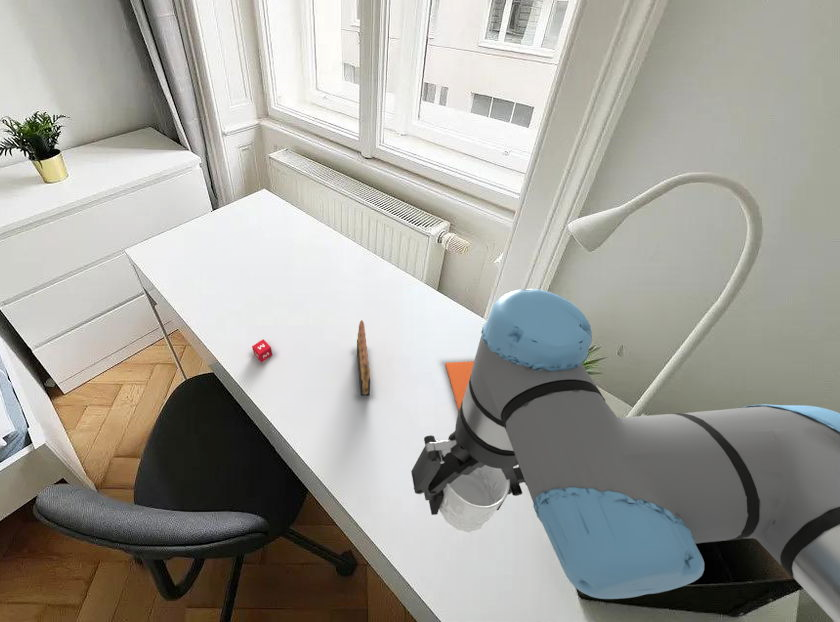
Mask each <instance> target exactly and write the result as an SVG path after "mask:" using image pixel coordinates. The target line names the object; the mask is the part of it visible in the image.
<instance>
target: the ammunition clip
mask: <svg viewBox="0 0 840 622" xmlns="http://www.w3.org/2000/svg"><path fill="white" fill-rule="evenodd" d="M356 358H357V369H358V380H359V389H360V390H359V393H360V396H361V397H364V396H370V395H371V376H370V373H371V371H370V365H369V364H370V362H369V355H368V346H367V338H366V329H365V323H364V321H363V320H362V319H361V320H360V322H359V324H358V332H357V339H356Z"/></svg>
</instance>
